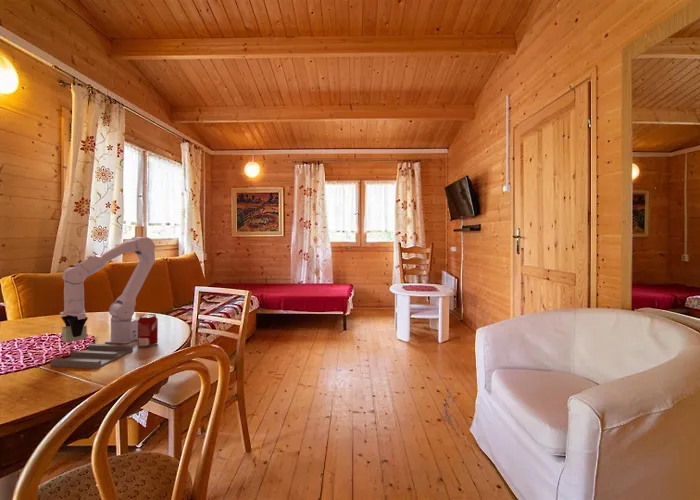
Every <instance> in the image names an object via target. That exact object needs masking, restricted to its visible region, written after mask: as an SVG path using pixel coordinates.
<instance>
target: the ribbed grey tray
mask: <svg viewBox="0 0 700 500" xmlns="http://www.w3.org/2000/svg"><path fill="white" fill-rule="evenodd" d="M133 347H134V346H133V345H132V344H131V345H129V344H126V345H125V344H110V343H104V344H103V343H90V344H88V349H85V350H73V351H70V356H68V357H66V358H62V357H60V358H59V357H55V358H52V359H50V367H56V368H74V369H75V368H76V369H77V368H78V369H79V368H80V369H100V368H101V367H104V366H106V365H108V364H109V363H111V362H113V361H114V362H115V360H118V359H119V358H122V357H124V356H126V355H128V354H130V353H132V352H134V351H133Z"/></svg>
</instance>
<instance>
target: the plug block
mask: <svg viewBox="0 0 700 500" xmlns="http://www.w3.org/2000/svg"><path fill="white" fill-rule="evenodd" d="M61 329H62V330H61V334H62V337H61V339H62V342H64V343H65V344H67V343H71V342H76V341H81V340H86V339H87V337H88V335H87V325H86V324H84V327H83V330H82V334H81V336H77V337H73V335H72V330H71V326H67V327H66V326H62V328H61Z"/></svg>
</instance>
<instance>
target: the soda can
mask: <svg viewBox="0 0 700 500" xmlns="http://www.w3.org/2000/svg"><path fill="white" fill-rule="evenodd" d="M137 321H138V339H137V346H139V347H140V348H150V346H151V347H154V346H155V345H157V344H158V339H159V338H158V330H159V328H158V323H159V321H158V317H157V314H154V313H146V314H141V315H140V316H139V319H138V320H137ZM153 345H154V346H153Z"/></svg>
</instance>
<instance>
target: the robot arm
mask: <svg viewBox="0 0 700 500" xmlns="http://www.w3.org/2000/svg"><path fill="white" fill-rule="evenodd" d="M155 249H156V244H155V243H154V241H153V239H152V238H151V237H148V236H144V237H143V236H134V237H131V238H129V239H127V240H125V241H122V242H121V243H119V244H118V245H116V246H114V247H113V248H111V249H109V250H108V251H106V252H104V253H102V254H101V255H97V254H96V255H95V254H94V255H89V256H87V257H86V258H87V259H85V260H83V261H81V262H79V263H74V264H73V266H72V267H71V266H70V267H67V268H66V269H65V270H63V272H62V274H61V275H60V276H61V279H62V280H63V281H64V284H63V285H64V287H63V307H64V308H63V311H61V312H59V315H60V316H61V317H60V318H61V320H62V321H63V323H64V325H65V327H67V326H71V330H72V335H73V337H77V336H81V334H82V330H83V327H84V325H86V322H87V321H88V316H86V309H85V287H84V285H85V283H84V282H85V281H86V279H87V277H89V276H91V275H93V274H95V273H97V272H99V271H100V270H102V269H104V268H106V265H107V263H108V262H110V261H112V260H113V259H116V258H117V257H119V256H121V255H123V254H125V253H129V252H134V253H135V254H136V257H137V258H138V260H139V261H138V262H137V265H136V267H135V268H134V270H133V272H132V274H131V275H130V278H129V280H128V282H127V283H126V286H125V287H124V289H123V291H122V293H121V295H118V297H117V298H116V299H115V301H114V302H113V303H111V305H110V306H109V307H108V313H109V314H110V315H111V317H110V339H108V340H106V341H104V344H122V345H125V344H126V345H128V344H129V343H133V342H134V341H136V340H137V341H138V320H137V319H134V318H133V316H134V315H135V308H136V305H137V301H136V299H137V296H138V294H139V293H140V291H141V289H142V287H143V285H144V283H145V281H146V279H147V277H148V275H149V273H150V271H151V270H152V267H153V265H154V264H155V262H156V255H155V254H156V253H155Z"/></svg>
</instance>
